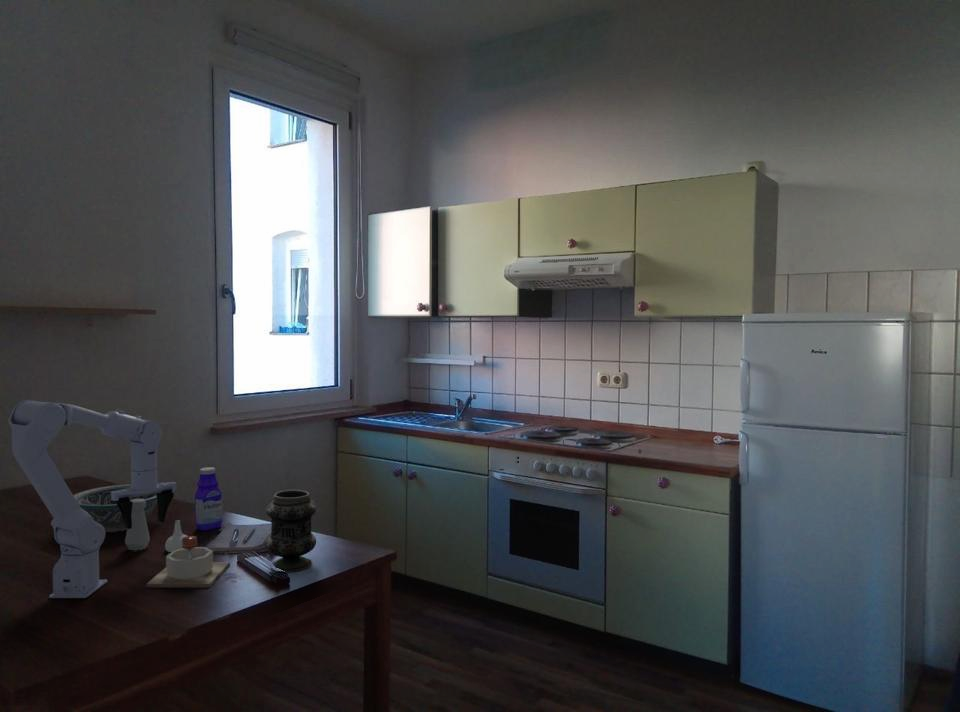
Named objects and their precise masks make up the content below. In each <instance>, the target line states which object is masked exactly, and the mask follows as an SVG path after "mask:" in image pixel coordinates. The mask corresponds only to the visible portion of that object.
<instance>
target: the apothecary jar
mask: <svg viewBox="0 0 960 712" xmlns="http://www.w3.org/2000/svg"><path fill="white" fill-rule="evenodd" d="M316 511H317V506H316V503H315V502H314V501H313V500H311V497H310V492H309V491H306V490H301V489H286V490H285V489H284V490H280V491H277V492H275V493H274V494H273V500H272V501H271V502H270V503H269V504H268V505H267V508H266V515H267V516H268V517H269V518H270V519H271V531H270V535H269V536H268V537H267V538H266V541H265V548H266V551H267V552H268V553H270V554H271V555H273V556H276V557H280V558H279V559H277V560H274V561H273V562H272V563H271V564H273V565H274V566H275V567H276V568H279V569H281V570H283V571H285V572H284V573H295V572H300V571H304V570H306V569H309V568H310V567H311V566H312V565H313V561H312V560H311V559H310V558H308V557H305V556H304V555H307V554H308V553H310V552H312V551H313V550H314V548H315V547H316V545H317V538H316V536H315V534H313V533H312V517H313V516H314V514H316Z"/></svg>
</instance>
